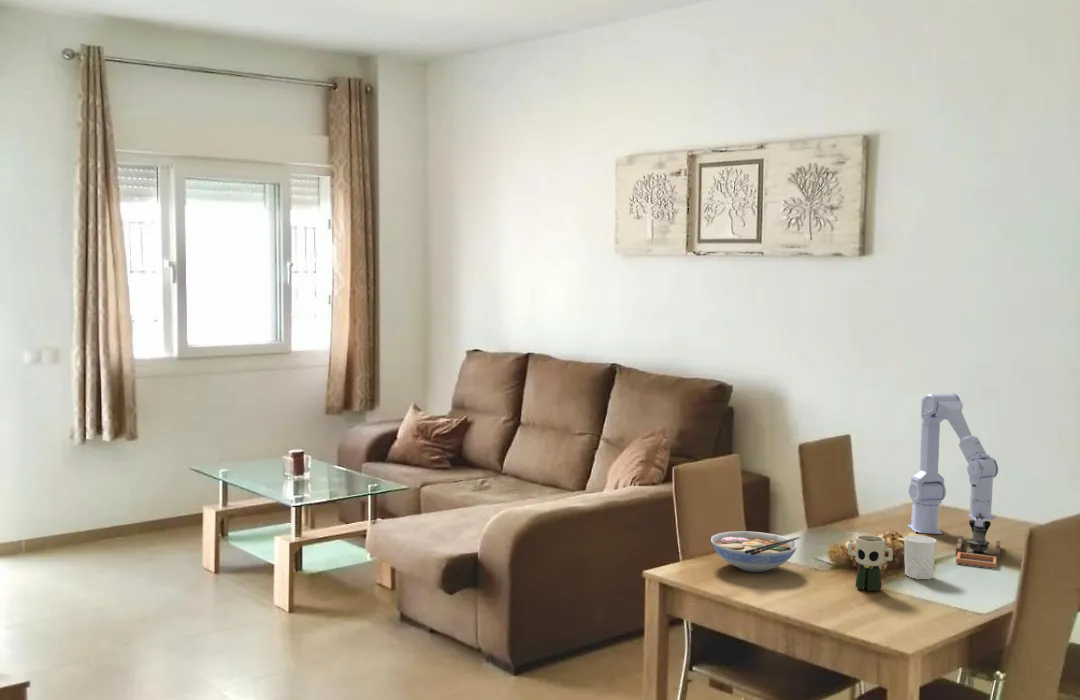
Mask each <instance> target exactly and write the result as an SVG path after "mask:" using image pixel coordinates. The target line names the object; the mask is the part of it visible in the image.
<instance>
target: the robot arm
mask: <svg viewBox="0 0 1080 700" xmlns="http://www.w3.org/2000/svg"><path fill="white" fill-rule="evenodd" d="M963 407H964V406H963V402H962V401H961V397H960V396H959V395H958V394H957V393H953V392H952V393H927V394H926V395H925V396H924V397H923V398H922V399H921V411H920V413H921V415H920V417H921V427H920V428H921V429H920V451H919V453H920V454H919V455H920V456H919V471H918V472H917V473H915V474H914V475H912V477H911V478H910V479H911V481H910V485H909V487H908V494H909V497H910V499H911V500H912V502H913V504H912V506H911V516H910V517H911V520H910V521H911V524H907V526H908V528H910V529H911V530H912V531H913V532H914V533H915V532H918V533H917V534H935V535H942V534H943V532H942V531H941V530H940V529H939V516H940V515H939V512H940V505H941V504H942V501H944V500H945V497H946V496H947V495H946V494H947V491H946V487H945V486H946V485H945V477H943V476H942V475H941V474H940V473H939V455H940V454H939V453H940V451H939V450H940V432H941V431H940V430H941V429H940V428H941V427H940V426H941V423H942V421H945V420H947V422H949V425H950V426H951V427H952V429H953V431H954V432H955V434H956V435H957V437H958V438H959V443H958V446H959V449H960V451H961V452H962V455H963V457H964V458H965V460H966V462H967V464H968V465H967V466H966V471H967V474H968V477H969V478H968V479H969V483H970V499H969V500H970V501H969V513H968V517H969V518H970V520H969V521H968V523H969V526H970V528H971V532H972V533H973V529H972V528H973V527H974V520H975V526H980V527H983V522H985V529H986V530H985V536H987V532H988V530H989V528H990V526H991V523H992V522H991V521H990V520H996V515H994V514H992V506H993V505H992V504H993V485H994V478H996V477H997V475H998V473H999V465H998V463H997V460H996V459H995V458H994V457H991V456H990V454H988V453H987V452H986V450H985V448H984V446H983V444H982V442H981V441H980V439H979V438H978V437H977V436H974V435H972V432H971V430H970V428H969V426H968V424H967V420H966V418H965V416H964V414H963V412H962V411H963ZM979 513H981V516H982V517H984V518H983V520H980V518H979V520H977V519H976V516H978V515H979ZM971 519H972V520H971Z"/></svg>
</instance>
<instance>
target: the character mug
mask: <svg viewBox="0 0 1080 700" xmlns="http://www.w3.org/2000/svg"><path fill="white" fill-rule="evenodd" d="M853 547H854V548H855V550H854V551H852V550H853ZM886 552H888V556H885V554H886ZM847 555H849V556H854V559H855V562H857V563H858V564H859V566H858V568H857V573H856V579H855V587H856V588H857V589H860V590H865V588H867V591H871V592H872V591H873V592H875V591H880V590H881V589H882V575H881V568H880V566H882V565H884V563H885V561H887V562H892V561H893V559H894V558H893V555H894V550H893V548H891V547H886V539H885V538H884V537H882V536H877V535H872V534H861V535H857V536H856V537H855V542H848V543H847Z"/></svg>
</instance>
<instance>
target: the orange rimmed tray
mask: <svg viewBox="0 0 1080 700" xmlns="http://www.w3.org/2000/svg"><path fill="white" fill-rule="evenodd" d="M963 542H964V535H959V537H958V539H957V544H956V547H955V556H957V554H958V552H961V551H962V548H963ZM1000 553H1001V540H996V546H995V554H994V556H995V557H997V560H996V561H997V562H998V561H1000Z"/></svg>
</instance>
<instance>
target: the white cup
mask: <svg viewBox="0 0 1080 700" xmlns="http://www.w3.org/2000/svg"><path fill="white" fill-rule="evenodd" d="M903 540H904V543H903V544H904V553H903V554H904V575H905V574H906V575H907V576H909V577H908V578H910V577H912V578H911V579H913V578H915V579H914V580H919V579H928V580H931V579H932V578H933V574H934V573H933V572H934V567H935V560H936V549H937V539H935V538H933V537H932V536H931V537H930V536H925V535H918V534H915V535H906V536H904V539H903ZM906 575H905V576H906ZM907 576H906V577H907Z"/></svg>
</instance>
